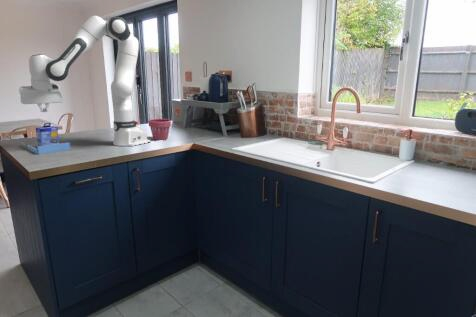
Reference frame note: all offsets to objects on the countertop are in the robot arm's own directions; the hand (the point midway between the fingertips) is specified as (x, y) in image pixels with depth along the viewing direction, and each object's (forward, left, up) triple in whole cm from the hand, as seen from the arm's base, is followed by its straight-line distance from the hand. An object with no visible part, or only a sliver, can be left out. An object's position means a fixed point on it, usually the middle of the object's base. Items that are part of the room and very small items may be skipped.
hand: (44, 111), depth 178 cm
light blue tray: (0, -7, -21) cm, 22 cm away
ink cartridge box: (-1, -3, -21) cm, 21 cm away
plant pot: (-62, +17, -21) cm, 68 cm away
